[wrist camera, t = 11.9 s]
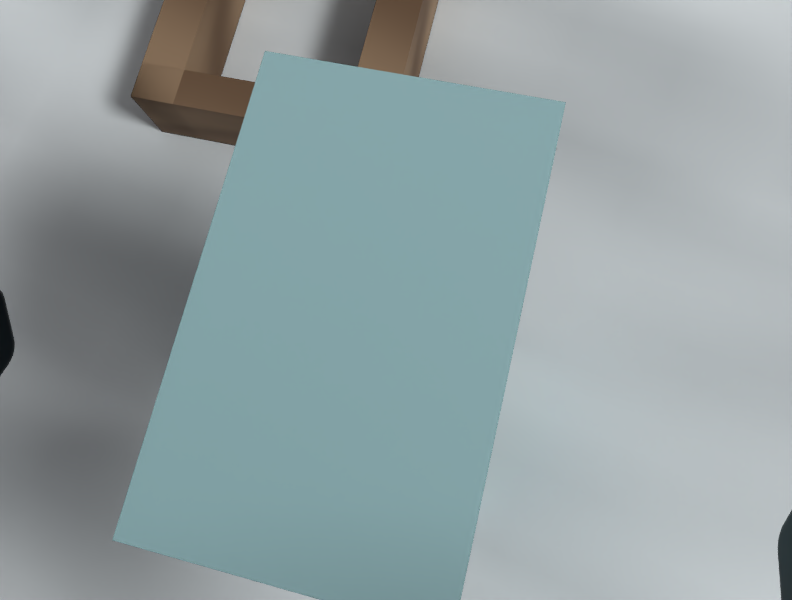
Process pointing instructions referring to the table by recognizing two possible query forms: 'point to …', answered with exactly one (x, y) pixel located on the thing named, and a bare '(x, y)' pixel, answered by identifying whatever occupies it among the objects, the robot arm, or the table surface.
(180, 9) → the walnut rack
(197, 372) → the teal board
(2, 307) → the robot arm
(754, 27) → the table surface
